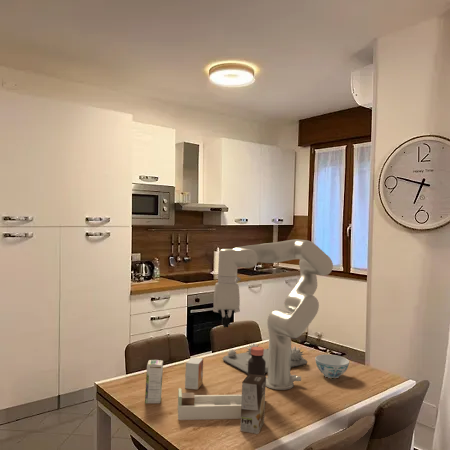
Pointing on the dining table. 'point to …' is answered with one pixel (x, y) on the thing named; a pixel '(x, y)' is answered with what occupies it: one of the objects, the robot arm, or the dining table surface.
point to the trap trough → (210, 407)
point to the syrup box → (154, 381)
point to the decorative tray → (242, 358)
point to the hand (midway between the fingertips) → (225, 326)
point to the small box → (194, 373)
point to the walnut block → (188, 399)
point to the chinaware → (331, 365)
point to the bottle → (256, 362)
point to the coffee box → (253, 403)
